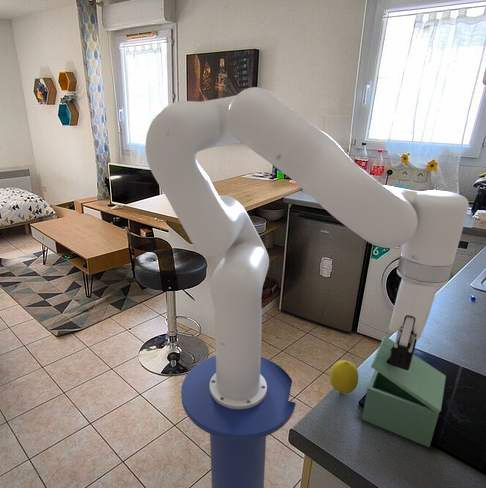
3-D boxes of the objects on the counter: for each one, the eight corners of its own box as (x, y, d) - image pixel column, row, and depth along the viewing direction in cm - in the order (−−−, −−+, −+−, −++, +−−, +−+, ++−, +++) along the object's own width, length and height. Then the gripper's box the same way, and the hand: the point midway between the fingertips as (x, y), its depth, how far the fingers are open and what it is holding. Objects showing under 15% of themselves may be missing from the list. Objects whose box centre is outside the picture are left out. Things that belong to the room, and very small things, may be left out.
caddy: (361, 419, 70) (367, 388, 67) (374, 387, 78) (379, 357, 75) (429, 447, 64) (438, 414, 61) (435, 409, 72) (444, 378, 69)
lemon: (356, 404, 73) (361, 372, 70) (327, 398, 75) (331, 367, 72) (355, 386, 78) (360, 355, 75) (328, 380, 80) (332, 350, 77)
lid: (370, 366, 65) (390, 344, 62) (382, 338, 73) (401, 316, 69) (437, 413, 61) (463, 392, 57) (443, 378, 69) (466, 357, 65)
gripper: (406, 247, 68) (388, 329, 75) (388, 281, 55) (369, 376, 62) (453, 256, 64) (429, 341, 71) (446, 294, 51) (418, 394, 58)
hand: (401, 357), depth 67 cm, fingers closed on lid, 5 cm apart
